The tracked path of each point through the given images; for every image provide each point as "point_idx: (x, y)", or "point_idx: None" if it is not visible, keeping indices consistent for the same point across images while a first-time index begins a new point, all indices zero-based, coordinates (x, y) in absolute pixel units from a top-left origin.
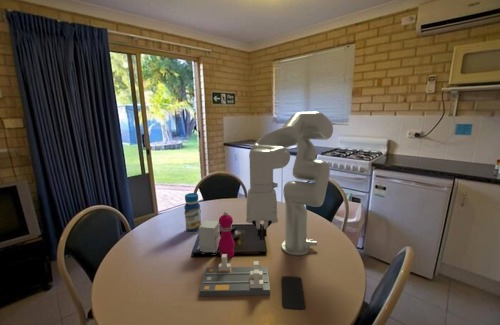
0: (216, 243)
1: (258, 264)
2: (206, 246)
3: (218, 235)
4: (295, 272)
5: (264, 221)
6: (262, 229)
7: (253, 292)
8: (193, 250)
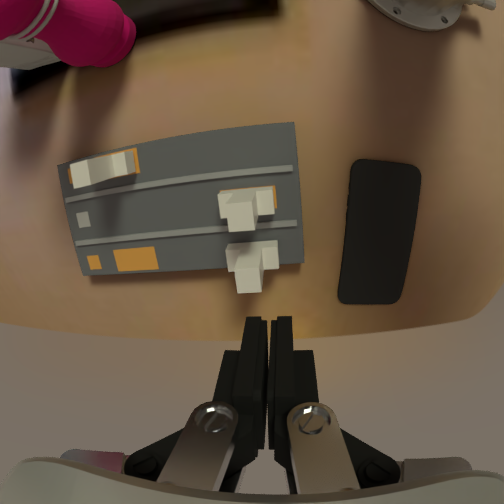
0: None
1: (253, 229)
2: (26, 62)
3: None
4: (405, 131)
5: (297, 466)
6: (271, 449)
7: None
8: None
